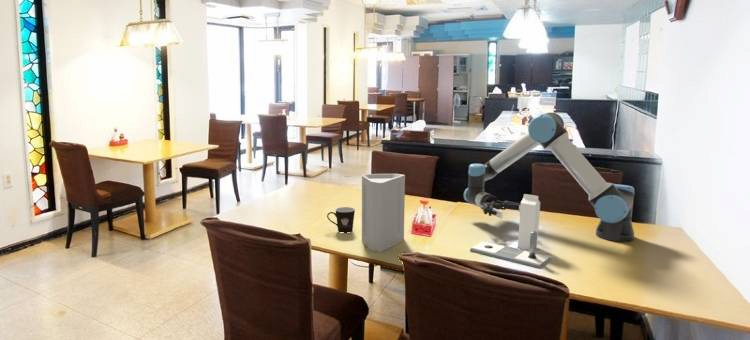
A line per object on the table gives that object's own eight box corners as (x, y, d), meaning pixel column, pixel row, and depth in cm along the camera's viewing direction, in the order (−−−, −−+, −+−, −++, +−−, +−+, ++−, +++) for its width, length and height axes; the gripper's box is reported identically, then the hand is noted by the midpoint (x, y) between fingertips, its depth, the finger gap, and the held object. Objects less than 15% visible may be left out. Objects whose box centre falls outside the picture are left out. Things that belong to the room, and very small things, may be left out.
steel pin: (536, 257, 188) (538, 231, 186) (534, 258, 186) (535, 233, 184) (530, 255, 190) (532, 230, 188) (527, 257, 188) (529, 232, 186)
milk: (523, 244, 207) (526, 192, 203) (537, 247, 203) (541, 194, 199) (517, 247, 202) (520, 195, 198) (532, 251, 198) (535, 197, 194)
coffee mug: (358, 229, 224) (358, 208, 222) (349, 235, 217) (349, 213, 215) (335, 226, 229) (335, 205, 227) (326, 231, 221) (325, 209, 219)
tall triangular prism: (375, 233, 220) (375, 171, 214) (404, 239, 212) (405, 174, 206) (350, 245, 204) (349, 178, 199) (380, 252, 196) (381, 183, 191)
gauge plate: (550, 258, 190) (551, 255, 190) (539, 268, 181) (539, 264, 180) (483, 243, 207) (484, 240, 207) (470, 251, 198) (470, 247, 198)
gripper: (509, 207, 233) (539, 219, 213) (463, 212, 224) (490, 225, 204) (510, 191, 231) (540, 202, 212) (463, 196, 222) (490, 207, 203)
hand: (515, 213), depth 208 cm, fingers open, 13 cm apart
